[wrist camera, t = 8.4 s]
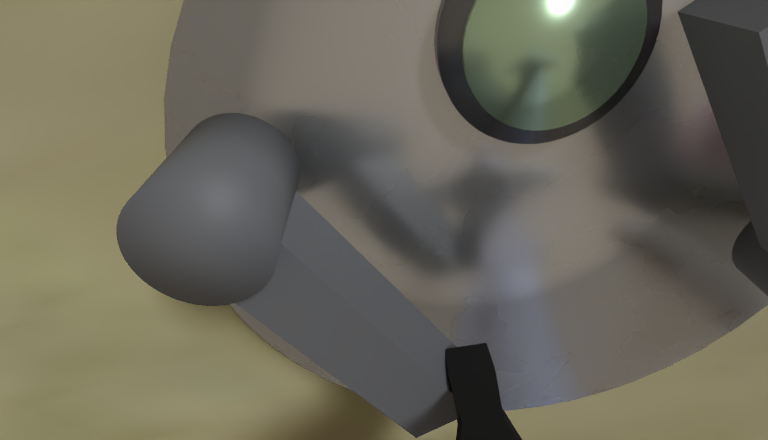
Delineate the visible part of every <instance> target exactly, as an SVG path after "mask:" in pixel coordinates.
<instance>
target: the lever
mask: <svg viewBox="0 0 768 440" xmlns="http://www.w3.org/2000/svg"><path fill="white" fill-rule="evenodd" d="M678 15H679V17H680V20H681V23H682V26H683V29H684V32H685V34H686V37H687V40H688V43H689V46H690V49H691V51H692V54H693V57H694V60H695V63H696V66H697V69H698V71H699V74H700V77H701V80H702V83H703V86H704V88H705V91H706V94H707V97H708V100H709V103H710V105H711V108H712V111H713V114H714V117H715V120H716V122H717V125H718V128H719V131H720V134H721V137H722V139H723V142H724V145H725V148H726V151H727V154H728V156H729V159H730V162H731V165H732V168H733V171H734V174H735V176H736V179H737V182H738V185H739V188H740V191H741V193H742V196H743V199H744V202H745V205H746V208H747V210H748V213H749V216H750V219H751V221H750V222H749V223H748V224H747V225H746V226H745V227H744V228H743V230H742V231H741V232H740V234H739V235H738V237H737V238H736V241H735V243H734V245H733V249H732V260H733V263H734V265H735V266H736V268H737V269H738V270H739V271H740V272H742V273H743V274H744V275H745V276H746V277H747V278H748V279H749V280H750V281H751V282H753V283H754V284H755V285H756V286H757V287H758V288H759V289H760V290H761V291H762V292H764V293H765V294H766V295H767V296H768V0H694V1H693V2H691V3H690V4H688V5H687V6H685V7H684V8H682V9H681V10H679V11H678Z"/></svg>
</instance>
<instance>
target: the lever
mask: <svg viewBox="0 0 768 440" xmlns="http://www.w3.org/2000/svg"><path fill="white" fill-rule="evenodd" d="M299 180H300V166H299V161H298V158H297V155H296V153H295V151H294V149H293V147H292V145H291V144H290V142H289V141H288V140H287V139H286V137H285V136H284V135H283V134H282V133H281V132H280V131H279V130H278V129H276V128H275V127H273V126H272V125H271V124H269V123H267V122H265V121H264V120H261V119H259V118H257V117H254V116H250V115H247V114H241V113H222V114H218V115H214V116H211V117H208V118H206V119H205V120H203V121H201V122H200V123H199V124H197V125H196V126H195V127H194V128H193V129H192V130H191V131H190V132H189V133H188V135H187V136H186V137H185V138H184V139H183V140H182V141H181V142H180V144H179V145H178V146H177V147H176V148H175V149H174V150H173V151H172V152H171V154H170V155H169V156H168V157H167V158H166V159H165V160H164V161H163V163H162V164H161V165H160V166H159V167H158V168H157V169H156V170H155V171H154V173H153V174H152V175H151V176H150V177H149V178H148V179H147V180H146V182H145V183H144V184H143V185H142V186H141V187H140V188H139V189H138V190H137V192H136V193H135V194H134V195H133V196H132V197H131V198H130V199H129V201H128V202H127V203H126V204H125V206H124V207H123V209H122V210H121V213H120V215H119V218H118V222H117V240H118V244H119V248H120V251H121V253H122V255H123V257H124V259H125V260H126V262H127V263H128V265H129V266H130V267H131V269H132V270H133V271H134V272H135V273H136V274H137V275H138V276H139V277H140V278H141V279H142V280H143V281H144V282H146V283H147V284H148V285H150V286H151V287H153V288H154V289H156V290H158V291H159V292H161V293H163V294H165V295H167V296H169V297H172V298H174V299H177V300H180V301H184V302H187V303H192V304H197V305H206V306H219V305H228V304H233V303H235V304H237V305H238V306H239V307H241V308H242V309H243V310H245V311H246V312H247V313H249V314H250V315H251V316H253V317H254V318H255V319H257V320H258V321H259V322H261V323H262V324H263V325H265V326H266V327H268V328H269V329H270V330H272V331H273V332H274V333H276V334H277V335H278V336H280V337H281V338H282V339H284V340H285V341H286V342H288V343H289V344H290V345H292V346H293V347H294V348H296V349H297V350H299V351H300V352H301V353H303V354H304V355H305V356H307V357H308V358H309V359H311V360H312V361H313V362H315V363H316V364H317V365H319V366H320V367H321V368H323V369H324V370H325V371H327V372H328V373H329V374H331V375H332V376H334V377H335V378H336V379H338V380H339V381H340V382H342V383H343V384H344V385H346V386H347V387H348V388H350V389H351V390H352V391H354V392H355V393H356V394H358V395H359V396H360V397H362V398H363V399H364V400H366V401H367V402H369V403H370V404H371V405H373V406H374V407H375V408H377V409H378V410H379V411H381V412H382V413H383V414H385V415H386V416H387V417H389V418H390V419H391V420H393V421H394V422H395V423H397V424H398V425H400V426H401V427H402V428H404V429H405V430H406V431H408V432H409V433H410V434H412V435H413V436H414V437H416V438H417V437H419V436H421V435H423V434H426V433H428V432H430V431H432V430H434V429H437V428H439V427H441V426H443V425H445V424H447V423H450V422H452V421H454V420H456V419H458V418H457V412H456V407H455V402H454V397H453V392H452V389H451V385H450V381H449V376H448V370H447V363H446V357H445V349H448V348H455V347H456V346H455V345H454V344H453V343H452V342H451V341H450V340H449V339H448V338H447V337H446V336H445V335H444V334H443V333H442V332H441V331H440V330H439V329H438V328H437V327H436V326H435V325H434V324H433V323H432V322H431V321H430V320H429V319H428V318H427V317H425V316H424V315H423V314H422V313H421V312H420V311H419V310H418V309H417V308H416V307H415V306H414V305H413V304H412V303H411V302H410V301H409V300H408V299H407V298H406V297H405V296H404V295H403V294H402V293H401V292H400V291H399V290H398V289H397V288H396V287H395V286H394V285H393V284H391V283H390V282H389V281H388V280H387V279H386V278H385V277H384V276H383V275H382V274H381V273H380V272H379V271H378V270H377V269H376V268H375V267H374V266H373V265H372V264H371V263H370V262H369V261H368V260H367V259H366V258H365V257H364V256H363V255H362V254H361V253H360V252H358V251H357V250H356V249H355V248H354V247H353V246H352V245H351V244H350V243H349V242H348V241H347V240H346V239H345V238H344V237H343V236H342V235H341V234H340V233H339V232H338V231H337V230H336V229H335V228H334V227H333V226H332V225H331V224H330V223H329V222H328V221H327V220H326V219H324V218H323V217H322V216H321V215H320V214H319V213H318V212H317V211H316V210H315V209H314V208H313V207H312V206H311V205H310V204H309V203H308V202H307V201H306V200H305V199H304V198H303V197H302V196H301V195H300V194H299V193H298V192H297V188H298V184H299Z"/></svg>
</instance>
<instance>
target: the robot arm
mask: <svg viewBox="0 0 768 440" xmlns="http://www.w3.org/2000/svg"><path fill="white" fill-rule="evenodd" d="M445 357H446V363H447V370H448V376H449V381H450V385H451V389H452V392H453V397H454V402H455V407H456V412H457V418H458V419H457V422H458V428H457V436H456V440H522V439H521V437H520V436H519V434H518V433H517V431H516V430H515V428H514V426H513V425H512V423H511V421H510V420H509V418H508V417H507V415H506V413H505V412H504V410H503V408H502V405H501V399H500V393H499V388H498V382H497V377H496V371H495V367H494V364H493V361H492V358H491V355H490V352H489V349H488V346H487V343H481V344H474V345H468V346H461V347H455V348H448V349H445Z"/></svg>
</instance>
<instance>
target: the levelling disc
mask: <svg viewBox="0 0 768 440" xmlns="http://www.w3.org/2000/svg"><path fill="white" fill-rule="evenodd" d="M693 1H694V0H184V2H183V6H182V9H181V13H180V16H179V20H178V23H177V27H176V30H175V34H174V37H173V41H172V44H171V51H170V59H169V66H168V74H167V82H166V89H165V97H164V110H165V149H166V155H167V157H168V156H169V155H170V154H171V152H172V151H173V150H174V149H175V148H176V147H177V146H178V145H179V144H180V142H181V141H182V140H183V139H184V138H185V137H186V136H187V135H188V133H189V132H190V131H191V130H192V129H193V128H194V127H195V126H196V125H197V124H199V123H200V122H201V121H203V120H205V119H206V118H208V117H211V116H214V115H218V114H222V113H241V114H247V115H250V116H254V117H257V118H259V119H261V120H264V121H265V122H267V123H269V124H271V125H272V126H273V127H275V128H276V129H278V130H279V131H280V132H281V133H282V134H283V135H284V136H285V137H286V139H287V140H288V141H289V142H290V144H291V145H292V147H293V149H294V151H295V153H296V155H297V158H298V161H299V166H300V180H299V184H298V188H297V192H298V193H299V194H300V195H301V196H302V197H303V198H304V199H305V200H306V201H307V202H308V203H309V204H310V205H311V206H312V207H313V208H314V209H315V210H316V211H317V212H318V213H319V214H320V215H321V216H322V217H323V218H324V219H326V220H327V221H328V222H329V223H330V224H331V225H332V226H333V227H334V228H335V229H336V230H337V231H338V232H339V233H340V234H341V235H342V236H343V237H344V238H345V239H346V240H347V241H348V242H349V243H350V244H351V245H352V246H353V247H354V248H355V249H356V250H357V251H358V252H360V253H361V254H362V255H363V256H364V257H365V258H366V259H367V260H368V261H369V262H370V263H371V264H372V265H373V266H374V267H375V268H376V269H377V270H378V271H379V272H380V273H381V274H382V275H383V276H384V277H385V278H386V279H387V280H388V281H389V282H390V283H391V284H393V285H394V286H395V287H396V288H397V289H398V290H399V291H400V292H401V293H402V294H403V295H404V296H405V297H406V298H407V299H408V300H409V301H410V302H411V303H412V304H413V305H414V306H415V307H416V308H417V309H418V310H419V311H420V312H421V313H422V314H423V315H424V316H425V317H427V318H428V319H429V320H430V321H431V322H432V323H433V324H434V325H435V326H436V327H437V328H438V329H439V330H440V331H441V332H442V333H443V334H444V335H445V336H446V337H447V338H448V339H449V340H450V341H451V342H452V343H453V344H454V345H455V346H456V347H461V346H468V345H474V344H481V343H487V346H488V349H489V352H490V355H491V358H492V361H493V364H494V367H495V371H496V377H497V382H498V388H499V393H500V399H501V405H502V408H503V410H504V411H505V410H514V409H523V408H532V407H540V406H545V405H550V404H555V403H560V402H566V401H571V400H575V399H578V398H582V397H586V396H589V395H593V394H597V393H601V392H604V391H607V390H610V389H613V388H616V387H618V386H621V385H624V384H627V383H630V382H633V381H636V380H638V379H640V378H643V377H645V376H647V375H650V374H652V373H654V372H657V371H659V370H661V369H664V368H666V367H668V366H670V365H672V364H674V363H676V362H678V361H680V360H682V359H684V358H686V357H688V356H689V355H691V354H693V353H695V352H697V351H699V350H701V349H703V348H704V347H706V346H708V345H709V344H711V343H713V342H714V341H716V340H717V339H719V338H721V337H722V336H724V335H725V334H727V333H729V332H730V331H732V330H734V329H735V328H737V327H738V326H739V325H741V324H742V323H743V322H745V321H746V320H747V319H749V318H750V317H752V316H753V315H754V314H756V313H757V312H758V311H760V310H761V309H763V308H764V307H765V306H767V305H768V296H767V295H766V294H765V293H764V292H762V291H761V290H760V289H759V288H758V287H757V286H756V285H755V284H754V283H753V282H751V281H750V280H749V279H748V278H747V277H746V276H745V275H744V274H743V273H742V272H740V271H739V270H738V269H737V268H736V266H735V265H734V263H733V260H732V249H733V245H734V243H735V241H736V238H737V237H738V235H739V234H740V232H741V231H742V230H743V228H744V227H745V226H746V225H747V224H748V223H749V222H750V221H751V219H750V216H749V213H748V210H747V208H746V205H745V202H744V199H743V196H742V193H741V191H740V188H739V185H738V182H737V179H736V176H735V174H734V171H733V168H732V165H731V162H730V159H729V156H728V154H727V151H726V148H725V145H724V142H723V139H722V137H721V134H720V131H719V128H718V125H717V122H716V120H715V117H714V114H713V111H712V108H711V105H710V103H709V100H708V97H707V94H706V91H705V88H704V86H703V83H702V80H701V77H700V74H699V71H698V69H697V66H696V63H695V60H694V57H693V54H692V51H691V49H690V46H689V43H688V40H687V37H686V34H685V32H684V29H683V26H682V23H681V20H680V17H679V15H678V11H679V10H681V9H682V8H684V7H685V6H687V5H688V4H690V3H691V2H693ZM229 305H230V306H231V307H232V308H233V309H234V310H235V312H236V313H237V314H238V315H239V316H240V317H241V319H242V320H243V321H244V322H245V323H246V324H247V325H248V326H250V327H251V328H252V329H253V330H254V331H255V332H256V333H257V334H258V335H260V336H261V337H262V338H263V339H264V340H265V341H266V342H267V343H268V344H270V345H271V346H272V347H274V348H275V349H277V350H278V351H280V352H281V353H282V354H284V355H285V356H287V357H288V358H289V359H291V360H292V361H294V362H295V363H297V364H299V365H300V366H302V367H304V368H306V369H308V370H309V371H311V372H313V373H315V374H317V375H318V376H320V377H322V378H324V379H326V380H329V381H331V382H333V383H336V384H338V385H340V386H343V387H345V388H347V389H350V388H348V387H347V386H346V385H344V384H343V383H342V382H340V381H339V380H338V379H336V378H335V377H334V376H332V375H331V374H329V373H328V372H327V371H325V370H324V369H323V368H321V367H320V366H319V365H317V364H316V363H315V362H313V361H312V360H311V359H309V358H308V357H307V356H305V355H304V354H303V353H301V352H300V351H299V350H297V349H296V348H294V347H293V346H292V345H290V344H289V343H288V342H286V341H285V340H284V339H282V338H281V337H280V336H278V335H277V334H276V333H274V332H273V331H272V330H270V329H269V328H268V327H266V326H265V325H263V324H262V323H261V322H259V321H258V320H257V319H255V318H254V317H253V316H251V315H250V314H249V313H247V312H246V311H245V310H243V309H242V308H241V307H239V306H238V305H237V304H235V303H233V304H229ZM350 390H351V389H350Z"/></svg>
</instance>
